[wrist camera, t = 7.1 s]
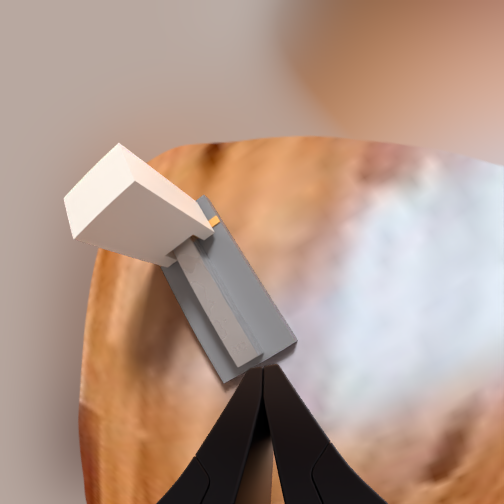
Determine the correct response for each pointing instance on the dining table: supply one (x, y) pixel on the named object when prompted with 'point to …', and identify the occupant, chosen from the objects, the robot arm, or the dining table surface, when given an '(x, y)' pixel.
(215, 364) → the board
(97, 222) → the white cardboard box
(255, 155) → the dining table surface
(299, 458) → the robot arm
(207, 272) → the light grey bar
